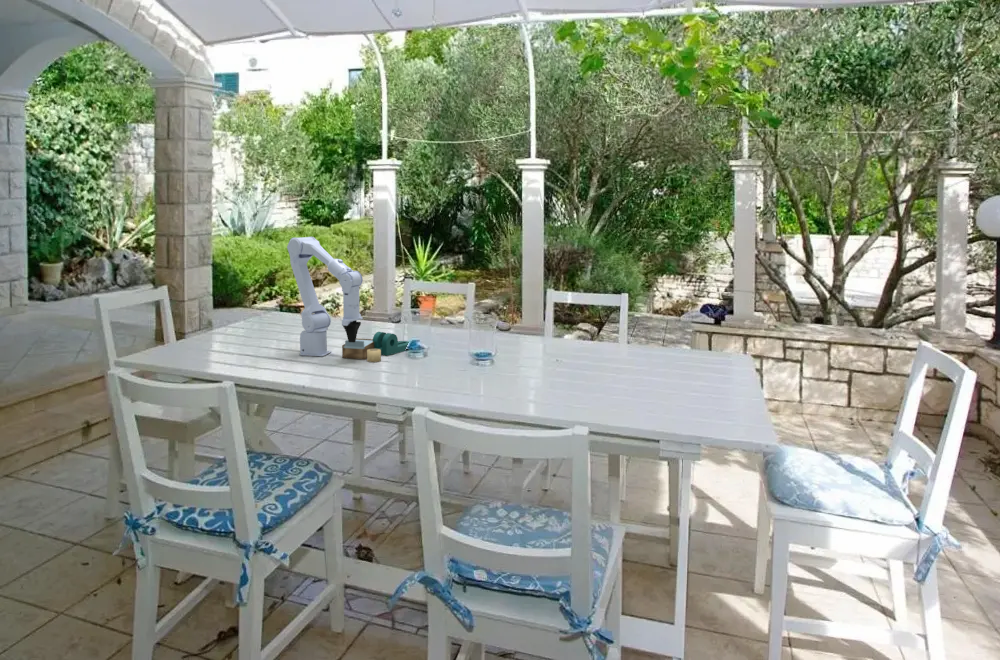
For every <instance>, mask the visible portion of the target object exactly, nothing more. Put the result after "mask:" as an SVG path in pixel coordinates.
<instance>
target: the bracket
mask: <svg viewBox="0 0 1000 660" xmlns="http://www.w3.org/2000/svg"><path fill="white" fill-rule="evenodd" d="M372 339H373V342H374V349H380V350H381V356H390V355H395V354H398V353H402V352H405V349H406V347H407V345H408V343H409V342H410V341H408V340H400V341H399V340H398V336H397V335H396V333H390V332H385V331H384V332H383V331H377V332H375V334H374V335H373V336H372Z"/></svg>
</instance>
